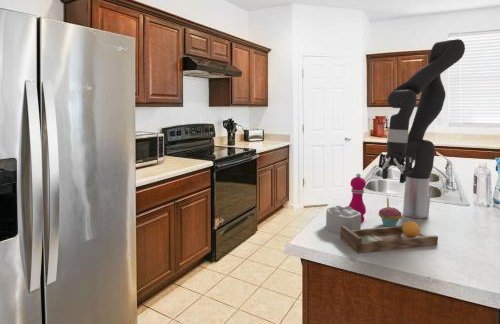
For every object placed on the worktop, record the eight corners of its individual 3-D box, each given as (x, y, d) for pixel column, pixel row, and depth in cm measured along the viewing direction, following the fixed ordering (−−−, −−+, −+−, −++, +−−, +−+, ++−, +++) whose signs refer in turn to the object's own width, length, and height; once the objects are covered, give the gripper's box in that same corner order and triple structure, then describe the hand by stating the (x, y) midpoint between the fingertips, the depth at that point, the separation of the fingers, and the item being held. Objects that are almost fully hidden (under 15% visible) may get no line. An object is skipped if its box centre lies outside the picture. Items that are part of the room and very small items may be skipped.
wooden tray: (413, 232, 125) (414, 219, 124) (437, 244, 113) (438, 230, 112) (340, 239, 119) (340, 225, 118) (358, 253, 107) (358, 238, 106)
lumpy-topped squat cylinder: (346, 237, 120) (347, 214, 119) (319, 227, 130) (320, 206, 129) (363, 231, 126) (364, 209, 125) (336, 222, 137) (336, 201, 135)
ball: (411, 233, 121) (413, 218, 120) (422, 239, 116) (424, 223, 115) (398, 234, 120) (399, 219, 119) (408, 240, 114) (410, 225, 113)
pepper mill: (366, 223, 134) (369, 175, 131) (348, 222, 136) (350, 175, 132) (364, 218, 141) (366, 172, 138) (346, 217, 143) (348, 171, 139)
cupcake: (390, 230, 127) (392, 200, 125) (373, 223, 134) (374, 194, 132) (405, 226, 131) (407, 197, 129) (387, 220, 138) (389, 192, 136)
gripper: (419, 142, 127) (414, 183, 129) (389, 139, 139) (385, 177, 142) (406, 142, 124) (401, 185, 126) (376, 139, 136) (372, 177, 139)
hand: (393, 180), depth 134 cm, fingers open, 8 cm apart
